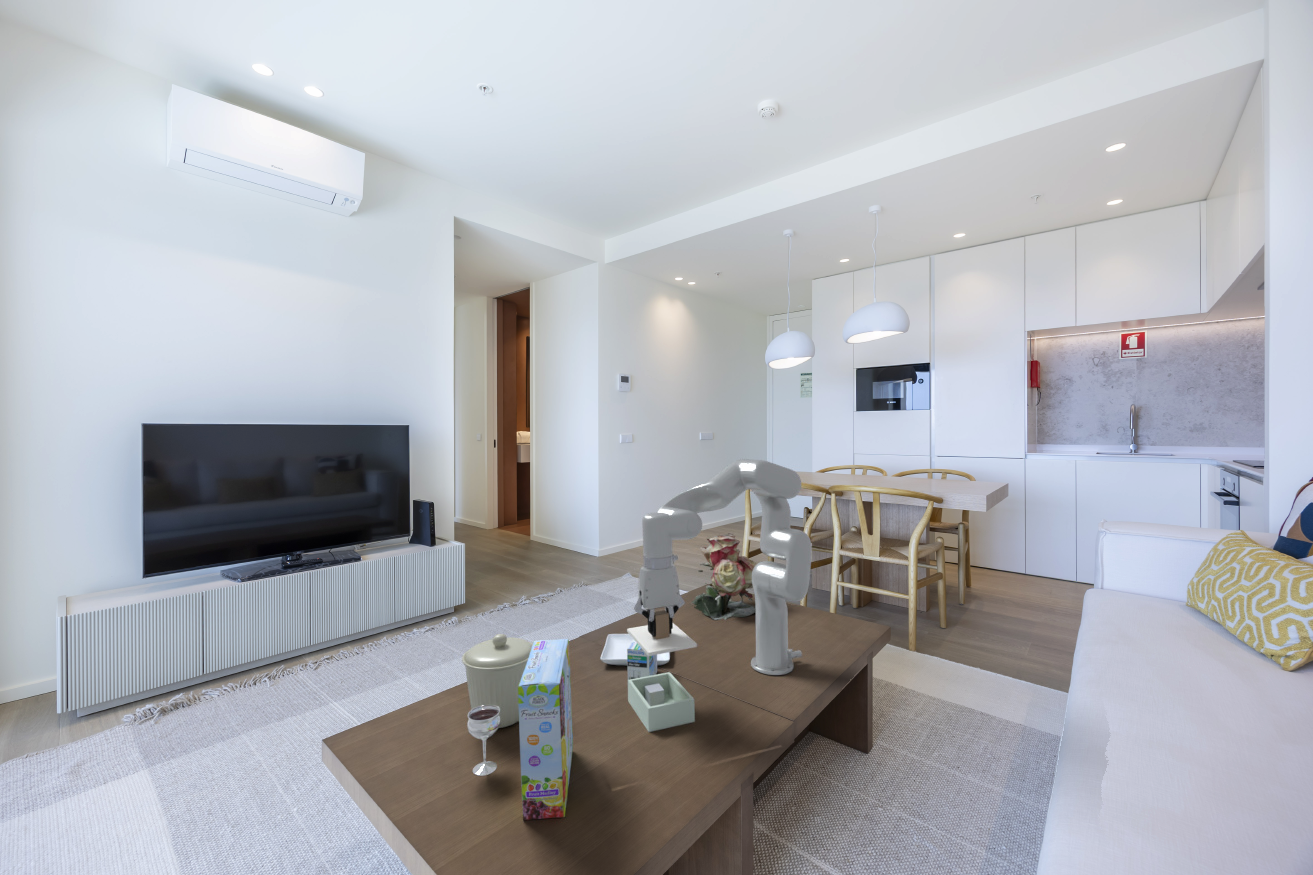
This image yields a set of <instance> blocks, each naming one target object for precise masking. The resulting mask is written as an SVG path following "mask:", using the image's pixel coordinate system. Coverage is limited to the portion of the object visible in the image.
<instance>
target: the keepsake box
mask: <svg viewBox="0 0 1313 875" xmlns="http://www.w3.org/2000/svg"><path fill="white" fill-rule="evenodd" d="M658 683H659V684H660V686H661V687H662V688H663V689H664V704H660V705H655V706H650V705H649V704H648V703H647V701H646V700H645V686H648V685H653V684H658ZM627 700H628V703H629V705H630V706H631V708H632V709H633V711H634V712H635V714H636V715H637V717H638V718H639V720H640V721H641V723H642V724H643V726H644V727H645V729H646V730H647V732H648V733H651V732H655V731H660V730H664V729H668V728H674V727H678V726H682V725H686V724H691V723H695V722H696V719H695V718H696V717H695V716H696V714H695V713H696V711H695V708H696V707H695V698H694V697H693V696H692V695H691V694H690V693H689V692H688V691H687V689H686V688H685V687H684V686H683V684H681V682H679V680H677V678H676V677H675V676H674V675H673V674H672V673H671V672H663V673H658V674H657V673H656V675H652V676H646V677H641V678H635V679H630V680H628V679H627Z"/></svg>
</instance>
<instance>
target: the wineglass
mask: <svg viewBox="0 0 1313 875" xmlns="http://www.w3.org/2000/svg"><path fill="white" fill-rule="evenodd" d="M499 712H500V709H499V707H497V706H495V705H483V706H479V707H476V708H474V709H472V710H471V709H470V710H469V711H468V713H467V718H468V720H467V724H466V725H467V731H468V732H469V734H470V735H471V736H472V737H474V738H475V739H477V740H478V739H479V740H481V741H482V753H483V754H482V755H483V761H481V762H479V763H478V764H476V765H475V766H474V767H473V768H472V773H473V774H474V775H476V776H481V777H484V776H487V775H490V774H492V773H494V772H495V771H496V769H497V768H498V766H497V763H496V762H494V761H490V760H488V761H487V739H488V738H490V737H492V736H493V735H494V734H495V733H496V732H497V731H498V729H500V728H499V725H500V720H501V719H500V716H499Z"/></svg>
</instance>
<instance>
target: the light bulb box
mask: <svg viewBox="0 0 1313 875" xmlns="http://www.w3.org/2000/svg"><path fill="white" fill-rule="evenodd" d="M626 666H627V667H626V668H627V681H628V680H630V679H635V678H641V677H646V676H652V675H657V673H658V665H657V655H652V656H648V655H647V654H646V653H645V651H644V650H643V649H642V648H641V647H640V646H639V645H638V643H637V642H636V641H635V640H634V639H633V641H632V642H631V644H630V645H629V647H628V649H627V665H626Z"/></svg>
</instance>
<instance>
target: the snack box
mask: <svg viewBox="0 0 1313 875" xmlns="http://www.w3.org/2000/svg"><path fill="white" fill-rule="evenodd" d="M532 643H533V645H532V648H531V652H530V655H529V658H528V661H527V664H526V667H525V669H524V672H523V675H522V678H521V681H520V684H519V686H518V707H519V721H518V726H519V727H518V729H519V757H520V759H519V760H520V782H521V784H520V785H521V808H522V809H521V811H522V812H521V813H522V820H523V821H530V820H542V819H552V818H553V819H555V818H565V817H566V809H567V802H568V793H569V784H570V776H571V767H572V760H573V759H572V758H573V750H574V735H573V710H572V709H573V708H572V690H571V687H572V686H571V666H570V665H571V662H570V661H571V660H570V656H571V655H570V639H569V638H559V639H540V640H533V642H532Z"/></svg>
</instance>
